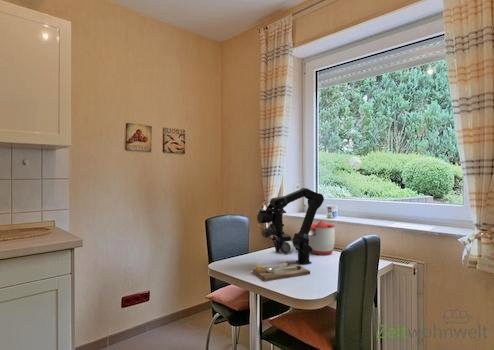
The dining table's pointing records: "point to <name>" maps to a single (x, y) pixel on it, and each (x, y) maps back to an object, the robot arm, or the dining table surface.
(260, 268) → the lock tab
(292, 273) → the tong board
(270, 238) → the robot arm
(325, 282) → the dining table surface
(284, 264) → the tong arm
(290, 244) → the ceramic mug
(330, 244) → the citrus juicer
